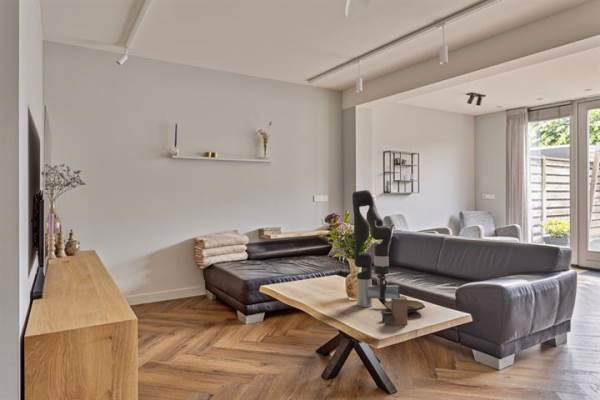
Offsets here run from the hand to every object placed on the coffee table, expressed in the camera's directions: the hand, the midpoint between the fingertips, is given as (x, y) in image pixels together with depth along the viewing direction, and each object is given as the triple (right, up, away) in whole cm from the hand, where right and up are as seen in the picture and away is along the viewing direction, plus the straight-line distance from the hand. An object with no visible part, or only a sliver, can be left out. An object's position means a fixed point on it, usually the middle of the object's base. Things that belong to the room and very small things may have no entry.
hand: (381, 296), depth 207 cm
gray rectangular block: (+1, 0, 0) cm, 1 cm away
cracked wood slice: (+18, -16, +30) cm, 38 cm away
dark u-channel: (+9, -16, +8) cm, 20 cm away
